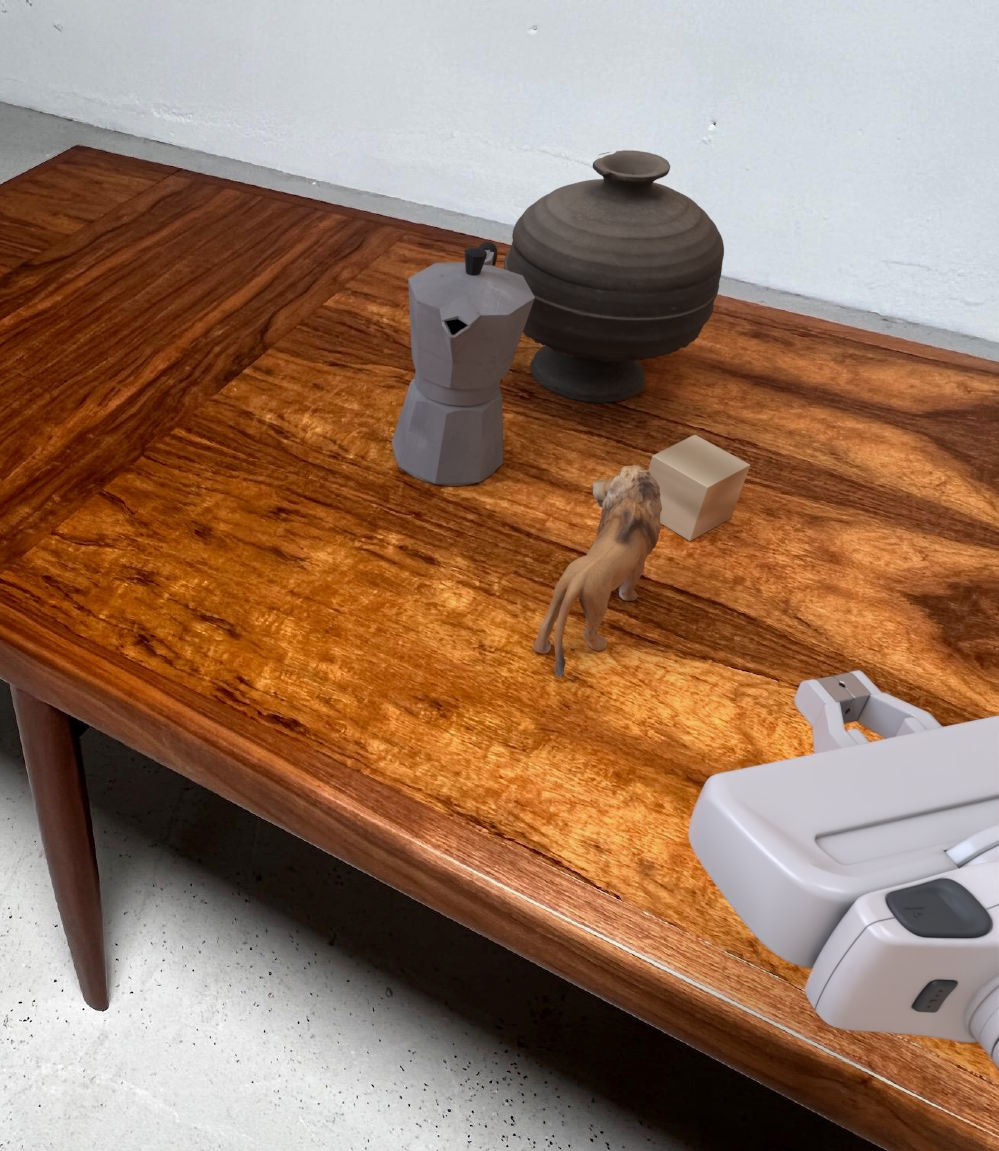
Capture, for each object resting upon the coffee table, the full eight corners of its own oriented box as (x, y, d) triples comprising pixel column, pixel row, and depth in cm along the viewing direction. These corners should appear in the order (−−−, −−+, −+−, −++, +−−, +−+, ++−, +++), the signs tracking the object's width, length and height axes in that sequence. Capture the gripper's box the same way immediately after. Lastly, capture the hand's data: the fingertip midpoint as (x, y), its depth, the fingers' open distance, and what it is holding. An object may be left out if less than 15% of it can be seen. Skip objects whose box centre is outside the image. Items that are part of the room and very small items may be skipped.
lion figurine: (579, 546, 84) (604, 445, 78) (651, 568, 82) (683, 466, 76) (520, 669, 74) (544, 564, 68) (600, 697, 72) (632, 592, 66)
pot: (453, 390, 100) (500, 160, 88) (516, 323, 113) (564, 114, 101) (656, 451, 93) (737, 211, 81) (698, 372, 106) (773, 155, 94)
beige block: (678, 487, 90) (694, 434, 87) (731, 518, 87) (750, 464, 83) (636, 508, 88) (652, 455, 84) (689, 541, 85) (708, 487, 81)
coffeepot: (489, 512, 87) (528, 298, 76) (371, 488, 90) (391, 277, 78) (520, 412, 98) (558, 212, 87) (413, 393, 101) (437, 196, 89)
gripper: (1316, 832, 43) (1041, 599, 53) (841, 946, 40) (646, 674, 50) (1224, 925, 47) (985, 691, 57) (787, 1035, 44) (616, 766, 54)
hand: (824, 684), depth 54 cm, fingers closed
